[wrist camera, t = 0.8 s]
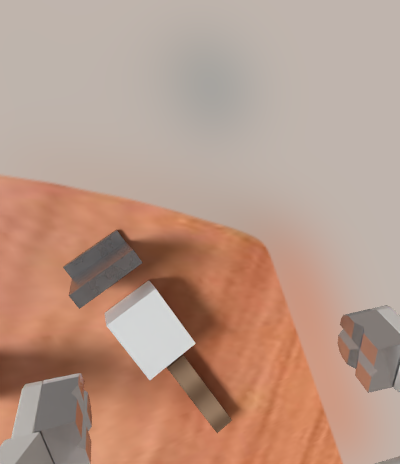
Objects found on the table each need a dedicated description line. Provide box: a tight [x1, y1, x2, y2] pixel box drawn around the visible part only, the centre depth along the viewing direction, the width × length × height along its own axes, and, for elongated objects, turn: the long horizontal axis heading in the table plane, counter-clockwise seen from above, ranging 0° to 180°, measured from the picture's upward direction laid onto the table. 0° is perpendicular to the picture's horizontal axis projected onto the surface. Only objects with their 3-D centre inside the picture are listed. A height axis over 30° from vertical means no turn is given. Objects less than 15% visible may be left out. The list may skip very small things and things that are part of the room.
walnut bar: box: [167, 354, 232, 433], centre depth 60 cm, size 14×3×3 cm, turn 34°
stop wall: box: [63, 230, 142, 309], centre depth 50 cm, size 4×9×11 cm, turn 124°
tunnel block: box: [105, 280, 196, 380], centre depth 55 cm, size 10×8×6 cm
